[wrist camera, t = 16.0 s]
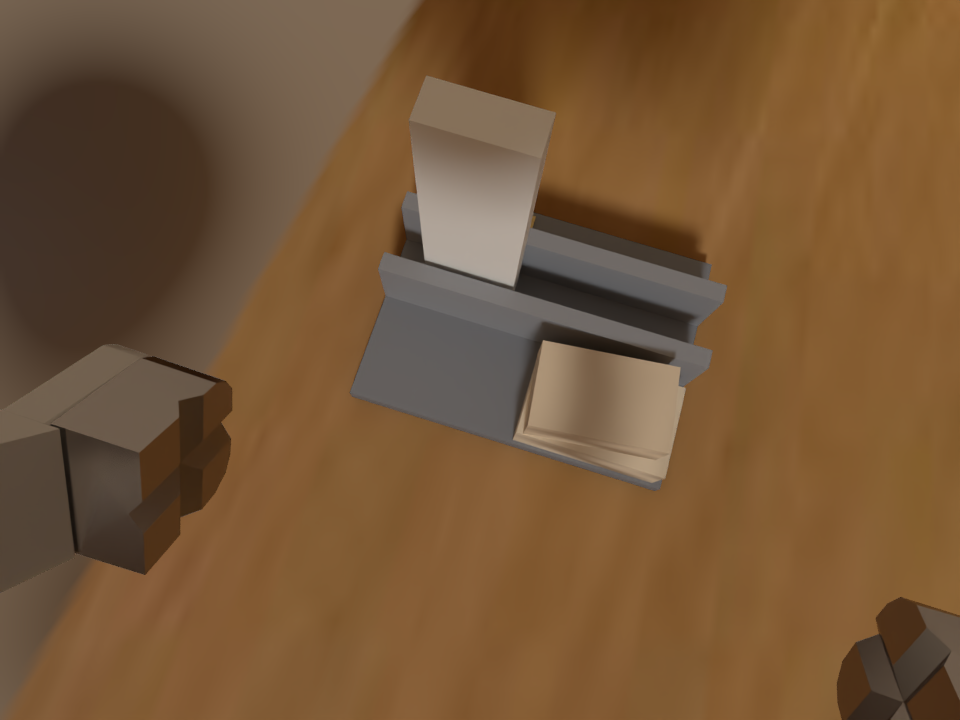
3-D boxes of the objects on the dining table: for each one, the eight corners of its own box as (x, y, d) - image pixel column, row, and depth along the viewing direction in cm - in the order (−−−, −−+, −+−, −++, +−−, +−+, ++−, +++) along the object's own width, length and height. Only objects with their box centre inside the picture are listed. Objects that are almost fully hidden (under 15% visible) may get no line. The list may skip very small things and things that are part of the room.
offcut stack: (672, 395, 39) (702, 374, 34) (651, 483, 37) (680, 473, 32) (535, 354, 39) (546, 326, 34) (510, 439, 38) (518, 423, 33)
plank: (518, 279, 40) (556, 112, 25) (508, 309, 40) (541, 158, 24) (438, 255, 40) (426, 75, 25) (427, 285, 40) (408, 119, 24)
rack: (705, 271, 42) (738, 235, 37) (654, 490, 38) (683, 482, 33) (428, 189, 43) (425, 144, 38) (352, 396, 39) (337, 375, 34)
